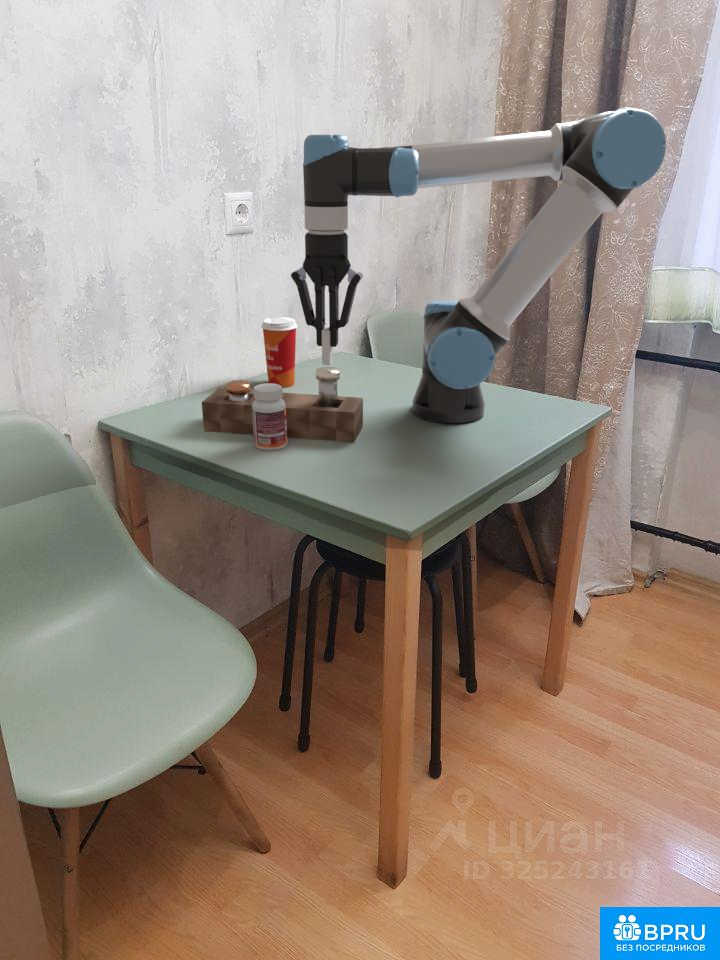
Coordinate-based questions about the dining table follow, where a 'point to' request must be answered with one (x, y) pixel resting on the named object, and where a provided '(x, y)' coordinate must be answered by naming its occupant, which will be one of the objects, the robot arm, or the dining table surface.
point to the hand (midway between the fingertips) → (327, 363)
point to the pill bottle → (269, 417)
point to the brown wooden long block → (287, 416)
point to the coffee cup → (280, 350)
